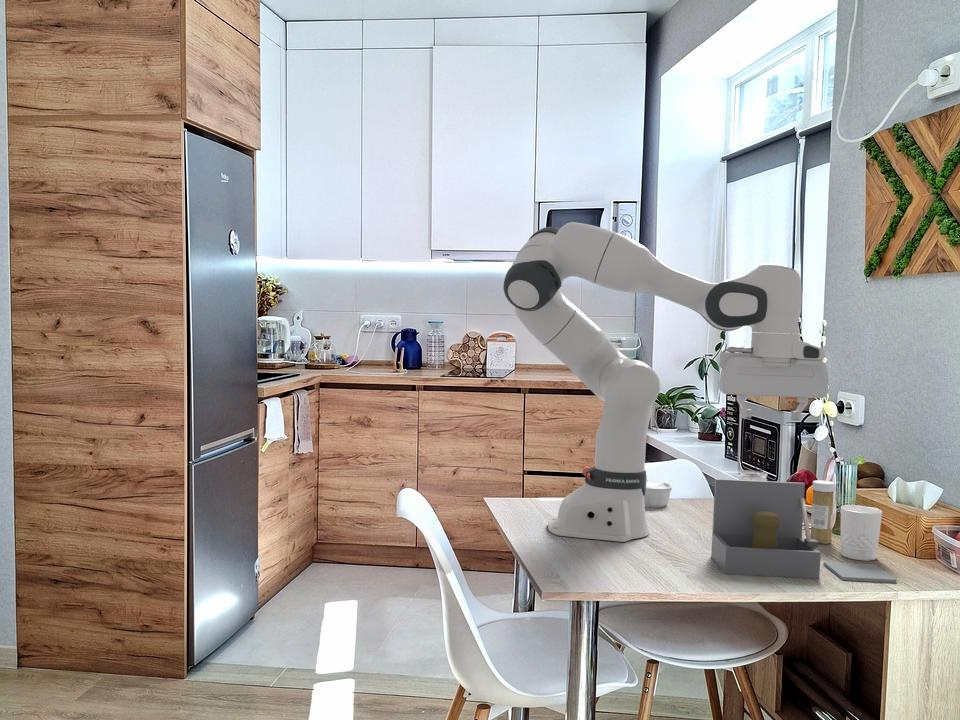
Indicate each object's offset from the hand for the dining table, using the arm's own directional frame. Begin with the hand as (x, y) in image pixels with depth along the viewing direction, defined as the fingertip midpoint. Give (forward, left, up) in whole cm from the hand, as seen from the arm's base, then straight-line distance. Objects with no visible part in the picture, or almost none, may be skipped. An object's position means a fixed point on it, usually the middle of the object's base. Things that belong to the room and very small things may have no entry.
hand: (771, 419), depth 164 cm
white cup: (+23, +12, -29) cm, 39 cm away
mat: (+18, -1, -29) cm, 34 cm away
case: (0, 0, -29) cm, 29 cm away
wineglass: (+8, +39, -29) cm, 49 cm away
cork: (0, 0, -29) cm, 29 cm away
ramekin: (-14, +55, -30) cm, 64 cm away
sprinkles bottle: (+19, +23, -29) cm, 42 cm away
